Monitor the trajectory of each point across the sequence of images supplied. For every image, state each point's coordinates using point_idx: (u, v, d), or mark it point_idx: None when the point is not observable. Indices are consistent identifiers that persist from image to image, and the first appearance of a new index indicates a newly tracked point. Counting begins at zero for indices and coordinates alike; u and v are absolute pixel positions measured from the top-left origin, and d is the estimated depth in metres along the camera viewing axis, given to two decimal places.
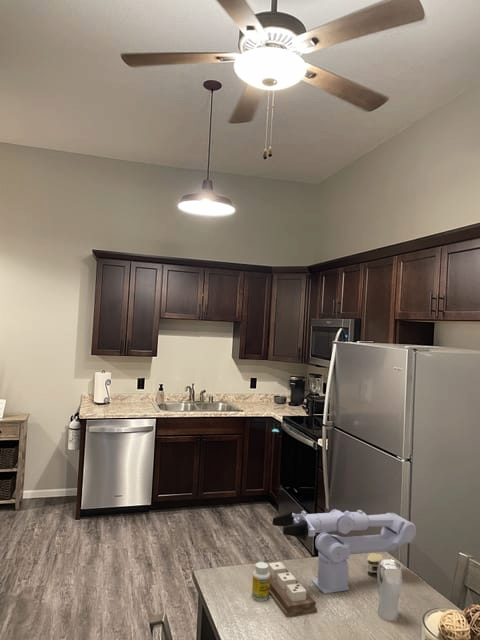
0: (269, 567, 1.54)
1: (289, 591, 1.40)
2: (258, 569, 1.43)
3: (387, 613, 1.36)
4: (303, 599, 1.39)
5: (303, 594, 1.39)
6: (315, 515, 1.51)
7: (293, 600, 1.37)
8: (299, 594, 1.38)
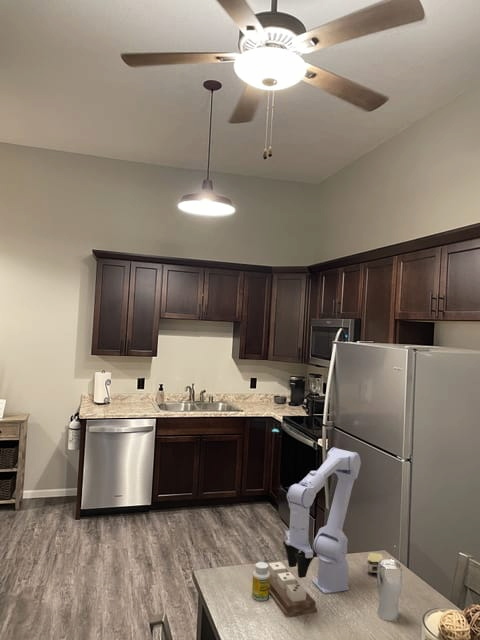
0: (269, 567, 1.54)
1: (289, 591, 1.40)
2: (258, 569, 1.43)
3: (387, 613, 1.36)
4: (303, 599, 1.39)
5: (303, 594, 1.39)
6: (291, 530, 1.39)
7: (293, 600, 1.37)
8: (299, 594, 1.38)
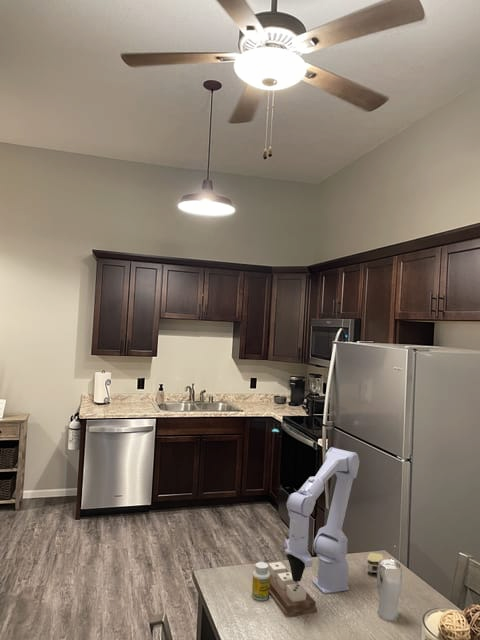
0: (269, 567, 1.54)
1: (289, 591, 1.40)
2: (258, 569, 1.44)
3: (387, 613, 1.36)
4: (303, 599, 1.39)
5: (303, 594, 1.39)
6: (291, 538, 1.39)
7: (293, 600, 1.37)
8: (299, 594, 1.38)
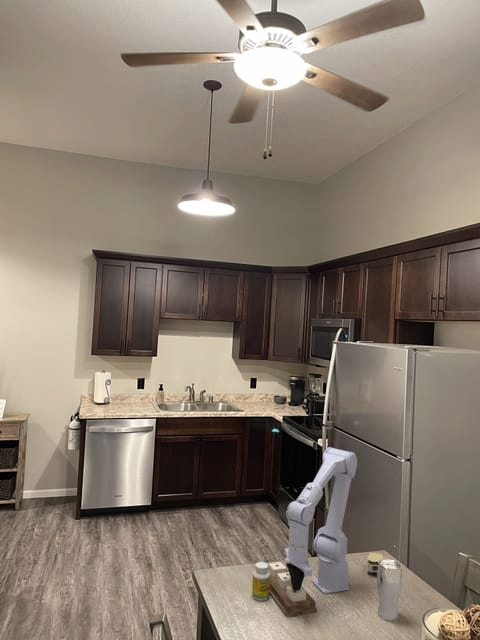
0: (269, 567, 1.54)
1: (289, 592, 1.40)
2: (258, 569, 1.44)
3: (387, 613, 1.36)
4: None
5: (303, 596, 1.39)
6: (291, 547, 1.39)
7: None
8: (299, 596, 1.38)
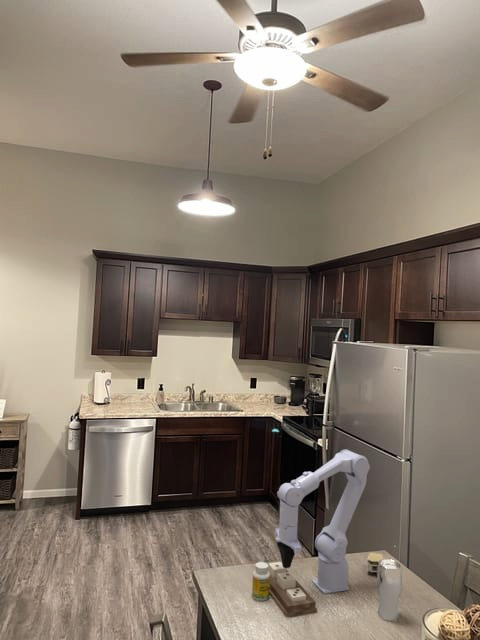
0: (269, 567, 1.54)
1: (289, 595, 1.40)
2: (258, 569, 1.43)
3: (387, 613, 1.36)
4: None
5: (303, 599, 1.39)
6: (281, 527, 1.46)
7: None
8: (299, 599, 1.38)
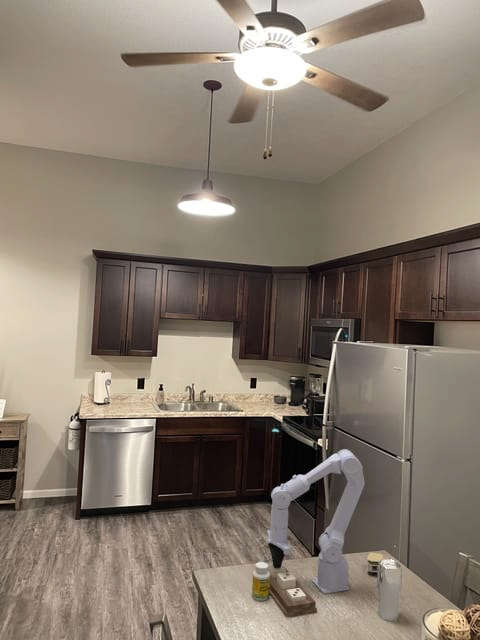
0: (269, 569, 1.54)
1: (289, 595, 1.40)
2: (258, 569, 1.43)
3: (387, 613, 1.36)
4: None
5: (303, 599, 1.39)
6: (272, 529, 1.52)
7: None
8: (299, 599, 1.38)
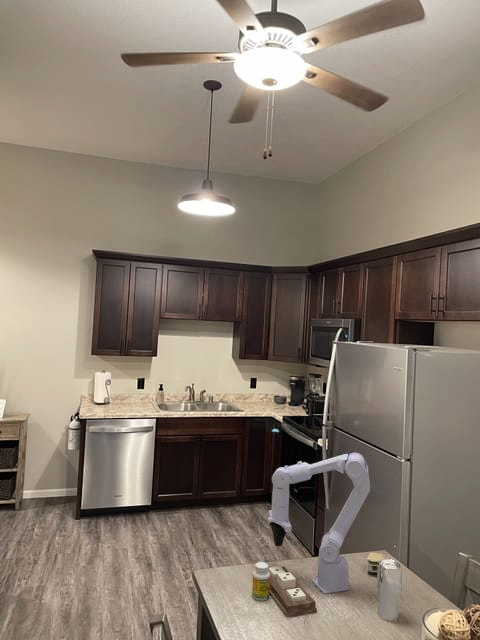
0: (269, 571, 1.54)
1: (289, 595, 1.40)
2: (258, 569, 1.43)
3: (387, 613, 1.36)
4: None
5: (303, 599, 1.39)
6: (273, 508, 1.57)
7: None
8: (299, 599, 1.38)
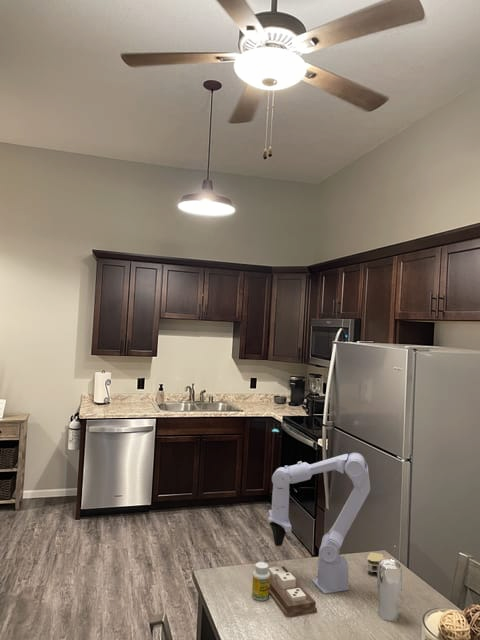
0: (269, 571, 1.54)
1: (289, 595, 1.40)
2: (258, 569, 1.44)
3: (387, 613, 1.36)
4: None
5: (303, 599, 1.39)
6: (273, 508, 1.57)
7: None
8: (299, 599, 1.38)
